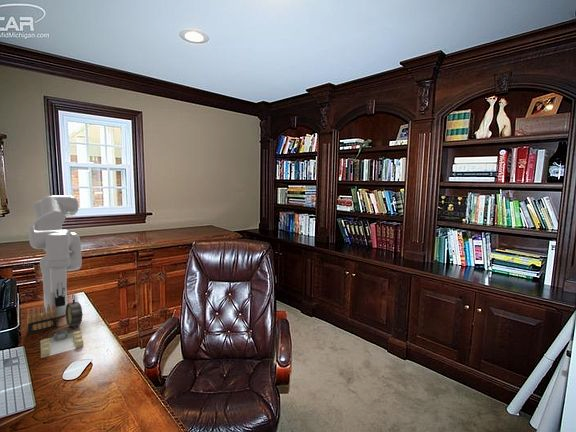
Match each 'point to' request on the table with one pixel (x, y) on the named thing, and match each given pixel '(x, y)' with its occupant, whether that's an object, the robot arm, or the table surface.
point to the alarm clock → (73, 313)
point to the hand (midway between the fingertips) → (60, 305)
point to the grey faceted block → (60, 335)
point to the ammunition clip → (41, 319)
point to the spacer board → (61, 344)
